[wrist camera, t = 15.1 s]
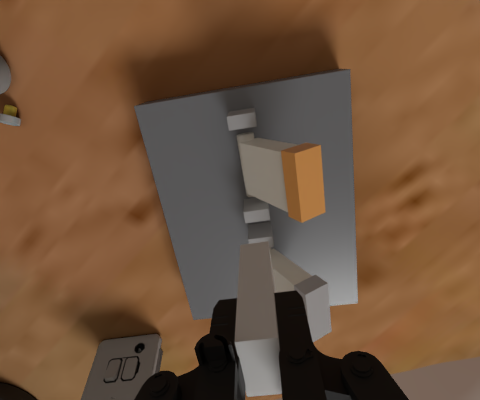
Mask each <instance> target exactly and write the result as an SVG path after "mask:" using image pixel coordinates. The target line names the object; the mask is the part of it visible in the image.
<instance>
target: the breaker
mask: <svg viewBox="0 0 480 400" xmlns="http://www.w3.org/2000/svg"><path fill="white" fill-rule="evenodd" d="M269 249H270V255H271V262H272V268H273V275H274V281H275V289H276V293H277V292H286V291H295V290H297V292H298V293H299V294H300V295H301V296H302V297H303V301H304V305H305V310H306V315H307V319H308V323H309V328H310V332H311V337H312V341H313V342H314V341H316V340H318V339H319V338H321V337H323V336H324V335H326V334H328V333H329V332H331V319H330V305H329V292H328V283H327V282H325V281H324V280H323V279H321V278H320V277H318V276H317V275H314V276H312V275H310V274H309V273H307V272H306V271H305V270H303V269H302V268H300V267H299V266H298V265H296V264H295V263H293V262H292V261H291V260H289V259H288V258H286V257H285V256H284V255H282V254H281V253H279V252H278V251H277V250H275V249H274V248H273V249H271V247H270V248H269Z"/></svg>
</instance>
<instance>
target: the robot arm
mask: <svg viewBox="0 0 480 400" xmlns="http://www.w3.org/2000/svg"><path fill="white" fill-rule="evenodd" d="M194 349H195V352H196V356H197V359H198V362H199V366H198V367H197V368H195V369H194V370H192V371H190V372H188V373H186V374H183V375H181V376H178V377H177V376H176V375H175V374H174V373H173V372H170V371H160V372H158V373H155V374H153V375H152V376H151V377H149V378H148V379H147V380H146V381H145V383H144V384H143V385H142V387H141V389H140V390H139V392H138V394H137V396H136V397H135V399H134V400H245V390H246V395H247V397H251V396H262V395H274V394H282V398H283V400H409V399H408V398H407V397H406V395H405V394H404V393H403V391H402V390H401V389H400V387H399V386H398V385H397V383H396V382H395V381H394V379H393V378H392V377H391V375H390V374H389V373H388V371H387V370H386V369H385V367H384V366H383V365H382V363H381V362H380V361H379V360H378V359H377V358H376V357H375V356H373V355H371V354H369V353H367V352H361V351H355V352H350V353H348V354H347V355H345V356H344V357H343V359H338V358H332V357H329V356H326V355H324V354H322V353H321V352H320V351H318V350H317V349H316V347H315V346H314V344H313V341H312V337H311V332H310V328H309V323H308V319H307V315H306V310H305V305H304V301H303V297H302V296H301V295H300V294H299V293H298V292H297V290H295V291H286V292H277V293H276V289H275V281H274V275H273V268H272V262H271V255H270V249H269V242H268V241H267V242H259V243H252V244H244V245H240V259H239V275H238V292H237V298H232V299H223V300H219V301H218V302H217V304H216V305H215V307H214V308H213V314H212V320H211V327H210V333H209V334H207V335H205V336H204V337H202V338H201V339H200V340H199V341H198V342H197V344H196V346H195V348H194ZM0 400H36V399H34V398H33V397H32V396H31V395H29V394H28V393H26V392H24V391H22V390H21V389H18V388H16V387H14V386H11V385H8V384H4V383H0Z"/></svg>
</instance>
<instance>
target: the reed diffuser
mask: <svg viewBox="0 0 480 400" xmlns="http://www.w3.org/2000/svg"><path fill="white" fill-rule="evenodd" d="M10 83H11V73H10V69H9V67H8V65H7V63H6V61H5V60H4V59H3V58H2V56H0V94H2V93H4V92H5V91H6V90H7V89H8V88H9V86H10ZM16 114H17V108H16V107H14V106H11V105H5V106H4V111H3V114H0V122H1V123H4V124H8V125H13V126H20V123H21V119H19V118H17V117H16Z"/></svg>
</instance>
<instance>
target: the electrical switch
mask: <svg viewBox="0 0 480 400" xmlns="http://www.w3.org/2000/svg"><path fill="white" fill-rule="evenodd" d="M161 343H162V339H161V337H160V336H159V335H158V334H151V335H142V336H134V337H126V338H118V339H110V340H104V341H102V342H101V343H100V344H99V346H98V349H97V353H96V356H95V359H94V362H93V365H92V368H91V371H90V374H89V377H88V380H87V383H86V386H85V389H84V392H83V395H82V398H81V400H134V399H135V397H136V396H137V394H138V392H139V390H140V389H141V387H142V385H143V384H144V383H145V381H146V380H147V379H148V378H149V377H151V376H152V375H153V374H155V373H158V372H159V371H160V365H161V359H162V353H163V351H162V350H161V349H160V348H161Z"/></svg>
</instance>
